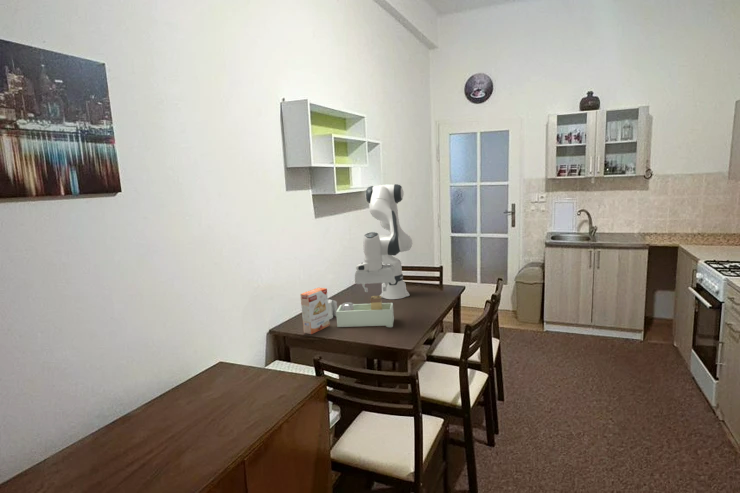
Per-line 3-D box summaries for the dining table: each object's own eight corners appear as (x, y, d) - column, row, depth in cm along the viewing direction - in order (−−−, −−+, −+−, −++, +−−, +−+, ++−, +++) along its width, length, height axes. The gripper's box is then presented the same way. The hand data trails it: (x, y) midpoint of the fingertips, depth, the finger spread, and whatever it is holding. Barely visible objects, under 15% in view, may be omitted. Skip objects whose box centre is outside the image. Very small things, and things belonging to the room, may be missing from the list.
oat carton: (373, 320, 230) (371, 296, 228) (382, 319, 229) (381, 295, 227) (372, 323, 225) (370, 298, 223) (382, 323, 224) (380, 298, 222)
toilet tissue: (311, 319, 243) (309, 301, 241) (331, 314, 248) (329, 297, 246) (317, 324, 233) (316, 305, 232) (338, 319, 239) (337, 301, 237)
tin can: (344, 320, 232) (342, 302, 231) (355, 320, 231) (353, 302, 230) (342, 324, 226) (340, 306, 225) (353, 324, 226) (352, 305, 224)
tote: (341, 321, 236) (340, 304, 234) (393, 319, 232) (392, 302, 231) (337, 328, 224) (336, 311, 222) (392, 327, 220) (391, 309, 219)
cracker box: (312, 336, 216) (308, 294, 212) (303, 334, 219) (299, 293, 216) (330, 327, 227) (327, 287, 224) (321, 325, 230) (318, 286, 227)
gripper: (394, 262, 224) (396, 288, 227) (354, 264, 227) (356, 290, 229) (393, 265, 218) (395, 292, 221) (353, 267, 221) (355, 294, 223)
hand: (375, 291), depth 225 cm, fingers open, 8 cm apart
